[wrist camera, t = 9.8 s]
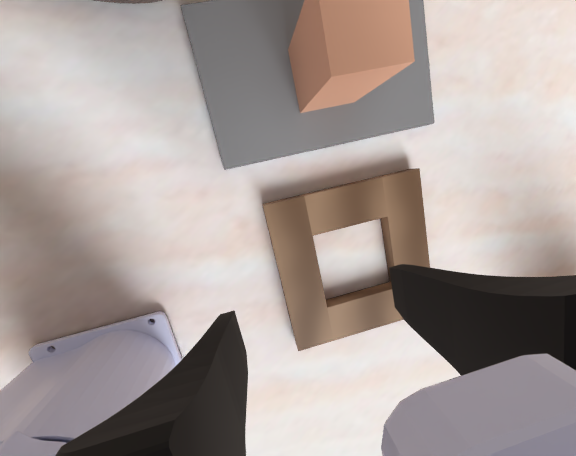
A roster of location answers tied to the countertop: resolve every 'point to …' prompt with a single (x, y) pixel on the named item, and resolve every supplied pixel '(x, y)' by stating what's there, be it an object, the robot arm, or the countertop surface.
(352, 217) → the walnut pocket plate
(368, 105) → the slate mat
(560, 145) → the countertop surface
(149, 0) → the perforated stone tool
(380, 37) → the terracotta block
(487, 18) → the countertop surface
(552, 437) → the robot arm
